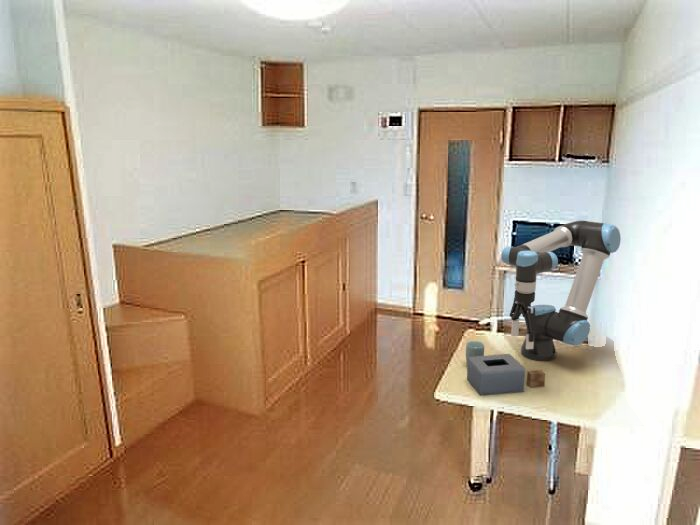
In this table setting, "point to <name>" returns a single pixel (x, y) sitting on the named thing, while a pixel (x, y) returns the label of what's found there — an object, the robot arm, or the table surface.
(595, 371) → the table surface
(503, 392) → the coin box
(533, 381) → the block
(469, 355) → the cup
